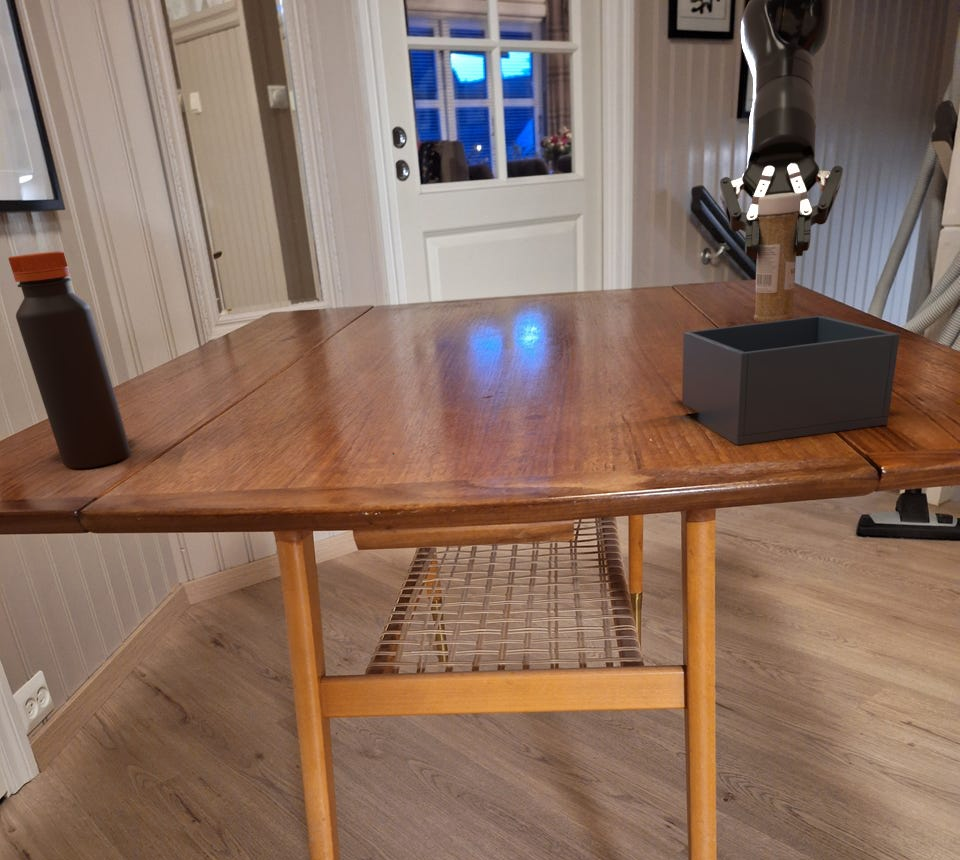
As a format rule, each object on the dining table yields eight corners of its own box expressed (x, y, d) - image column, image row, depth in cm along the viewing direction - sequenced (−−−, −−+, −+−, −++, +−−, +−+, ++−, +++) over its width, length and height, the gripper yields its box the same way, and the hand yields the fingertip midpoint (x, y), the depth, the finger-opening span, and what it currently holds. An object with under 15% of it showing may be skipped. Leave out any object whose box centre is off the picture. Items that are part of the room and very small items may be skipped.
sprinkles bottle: (800, 319, 102) (809, 191, 96) (764, 324, 101) (771, 196, 95) (780, 315, 106) (788, 192, 100) (746, 320, 105) (751, 196, 99)
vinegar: (75, 455, 94) (12, 255, 85) (138, 448, 94) (83, 248, 85) (54, 473, 88) (-15, 260, 79) (122, 465, 88) (60, 252, 79)
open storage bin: (813, 395, 89) (821, 315, 85) (887, 425, 77) (900, 333, 74) (681, 412, 88) (683, 331, 84) (736, 445, 76) (741, 353, 72)
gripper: (719, 112, 101) (711, 235, 97) (850, 96, 97) (849, 223, 93) (719, 163, 108) (712, 279, 104) (842, 150, 104) (840, 270, 100)
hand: (777, 252), depth 98 cm, fingers closed on sprinkles bottle, 4 cm apart
